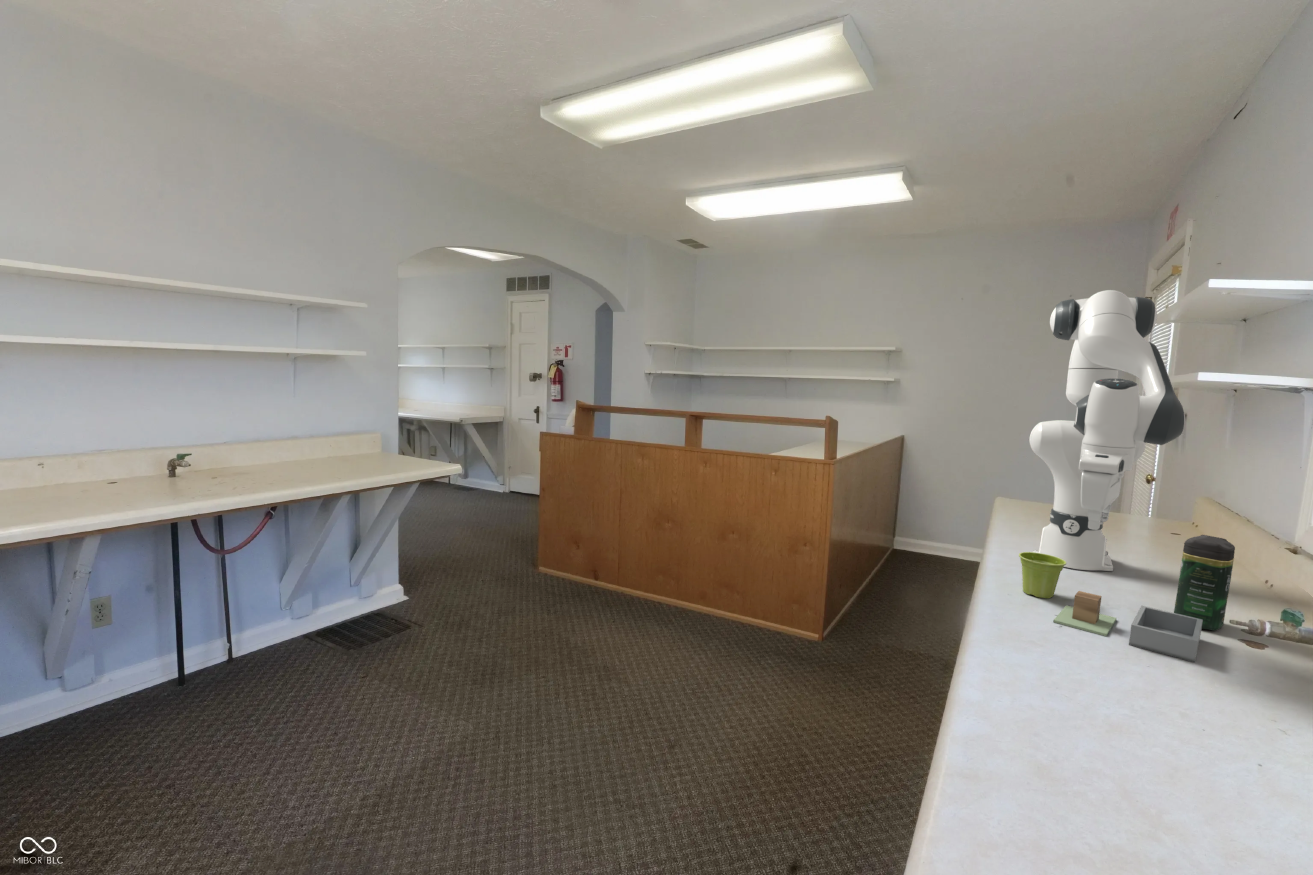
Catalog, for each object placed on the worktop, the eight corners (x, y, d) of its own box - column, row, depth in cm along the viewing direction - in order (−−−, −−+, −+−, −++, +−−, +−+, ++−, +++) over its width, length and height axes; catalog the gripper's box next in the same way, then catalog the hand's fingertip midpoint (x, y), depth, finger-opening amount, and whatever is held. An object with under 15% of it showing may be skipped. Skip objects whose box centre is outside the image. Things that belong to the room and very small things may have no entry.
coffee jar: (1219, 635, 124) (1232, 545, 122) (1169, 622, 130) (1181, 536, 128) (1227, 623, 131) (1239, 538, 129) (1178, 611, 137) (1190, 529, 135)
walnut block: (1076, 613, 132) (1078, 590, 132) (1098, 619, 129) (1101, 595, 129) (1072, 618, 129) (1074, 595, 129) (1095, 624, 126) (1098, 600, 126)
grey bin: (1139, 623, 129) (1141, 605, 128) (1199, 638, 122) (1202, 619, 122) (1128, 644, 118) (1131, 624, 118) (1194, 662, 112) (1197, 641, 111)
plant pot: (1048, 588, 149) (1052, 553, 148) (1070, 602, 140) (1075, 565, 139) (1007, 585, 150) (1011, 550, 149) (1027, 599, 141) (1031, 562, 140)
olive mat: (1066, 607, 137) (1066, 605, 137) (1116, 619, 130) (1116, 617, 130) (1053, 622, 128) (1053, 619, 128) (1106, 636, 122) (1106, 633, 122)
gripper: (1097, 452, 136) (1089, 513, 138) (1077, 462, 121) (1069, 530, 123) (1133, 455, 132) (1124, 519, 133) (1117, 466, 117) (1108, 537, 119)
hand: (1098, 524), depth 128 cm, fingers open, 8 cm apart
